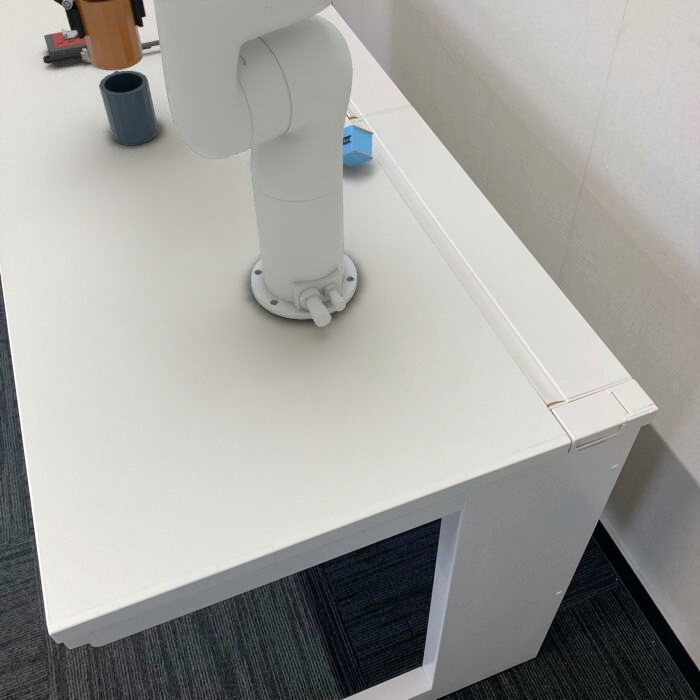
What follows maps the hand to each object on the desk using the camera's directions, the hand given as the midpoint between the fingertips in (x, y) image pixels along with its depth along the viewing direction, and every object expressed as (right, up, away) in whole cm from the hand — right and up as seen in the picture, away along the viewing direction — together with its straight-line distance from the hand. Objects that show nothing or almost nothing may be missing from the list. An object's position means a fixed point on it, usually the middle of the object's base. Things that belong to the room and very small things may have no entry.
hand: (109, 27), depth 102 cm
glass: (0, -3, +3) cm, 4 cm away
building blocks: (+28, -15, +8) cm, 33 cm away
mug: (0, -10, +13) cm, 16 cm away
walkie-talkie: (-9, +7, +28) cm, 31 cm away
